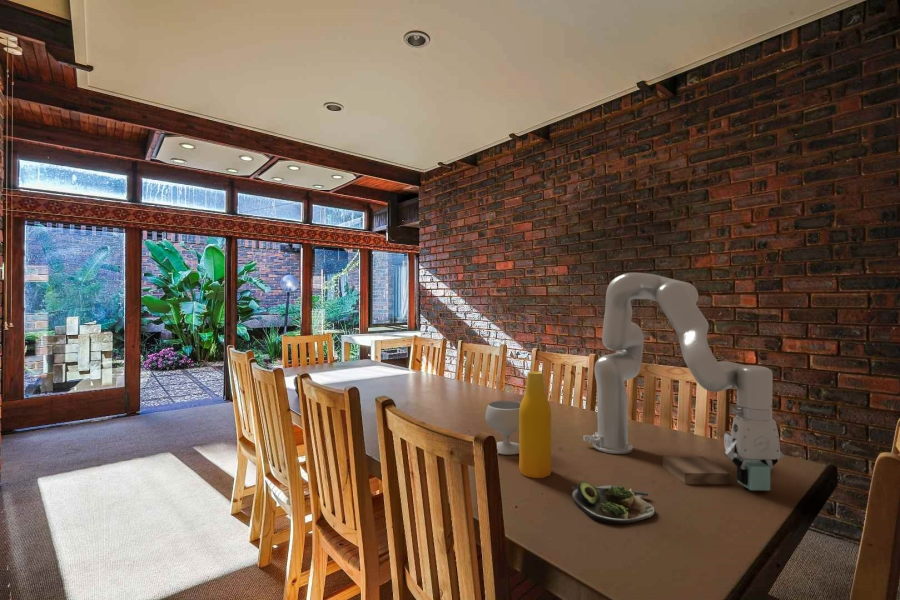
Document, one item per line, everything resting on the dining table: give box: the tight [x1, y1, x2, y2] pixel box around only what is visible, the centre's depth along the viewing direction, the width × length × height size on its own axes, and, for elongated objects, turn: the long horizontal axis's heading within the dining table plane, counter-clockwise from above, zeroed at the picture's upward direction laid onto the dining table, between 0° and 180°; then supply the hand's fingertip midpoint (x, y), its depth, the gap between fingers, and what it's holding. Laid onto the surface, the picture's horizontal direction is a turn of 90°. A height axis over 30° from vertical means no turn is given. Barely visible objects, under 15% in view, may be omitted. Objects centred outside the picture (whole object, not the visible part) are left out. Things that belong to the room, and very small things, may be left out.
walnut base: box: [662, 456, 731, 485], centre depth 120 cm, size 12×12×3 cm
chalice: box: [484, 400, 521, 456], centre depth 141 cm, size 14×14×15 cm
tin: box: [722, 430, 743, 459], centre depth 129 cm, size 15×3×8 cm, turn 168°
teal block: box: [736, 460, 771, 491], centre depth 110 cm, size 5×5×6 cm
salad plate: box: [571, 481, 656, 525], centre depth 102 cm, size 19×18×5 cm
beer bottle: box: [518, 371, 552, 479], centre depth 122 cm, size 9×9×29 cm
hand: (753, 482), depth 110 cm, fingers closed on teal block, 5 cm apart
